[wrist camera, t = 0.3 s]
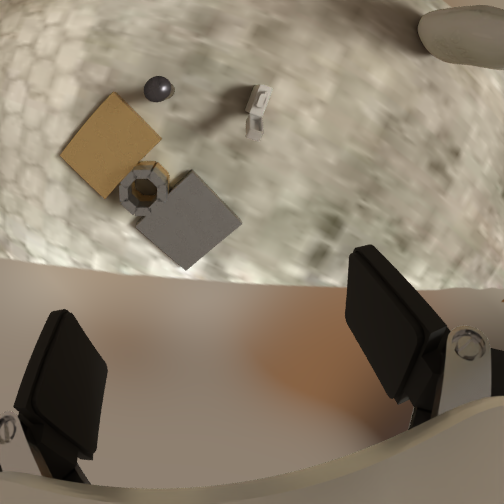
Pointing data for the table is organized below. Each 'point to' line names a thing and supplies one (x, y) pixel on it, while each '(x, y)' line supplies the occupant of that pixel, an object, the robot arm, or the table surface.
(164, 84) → the dark round-topped peg
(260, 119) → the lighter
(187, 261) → the hinge
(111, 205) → the table surface
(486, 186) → the table surface
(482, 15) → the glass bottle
